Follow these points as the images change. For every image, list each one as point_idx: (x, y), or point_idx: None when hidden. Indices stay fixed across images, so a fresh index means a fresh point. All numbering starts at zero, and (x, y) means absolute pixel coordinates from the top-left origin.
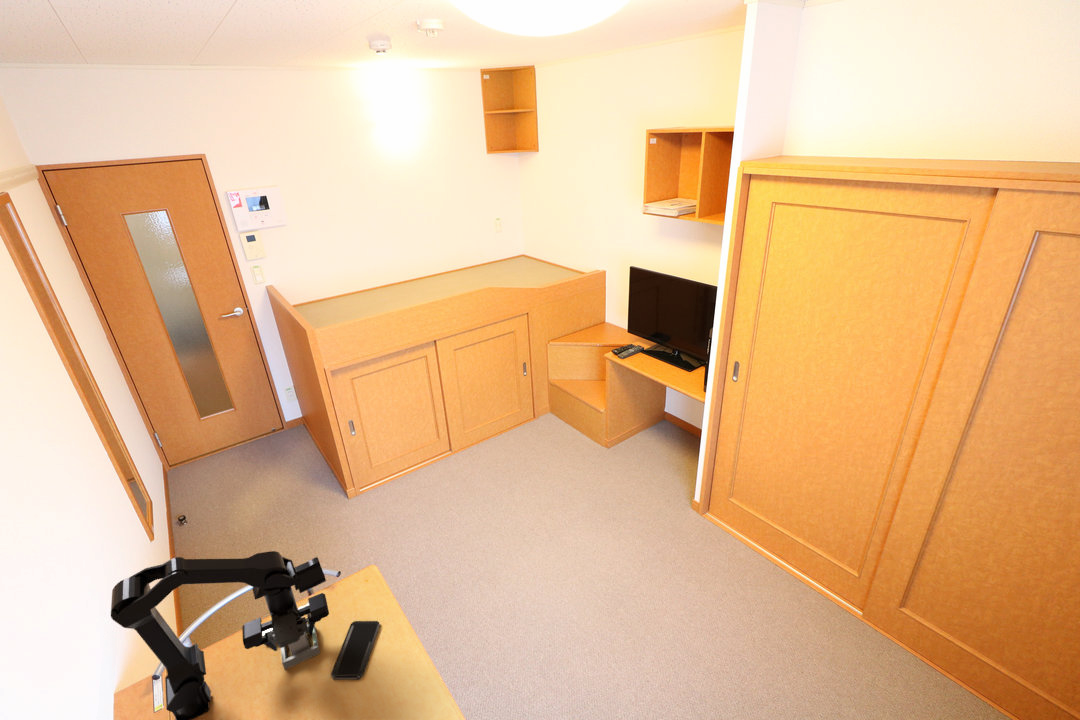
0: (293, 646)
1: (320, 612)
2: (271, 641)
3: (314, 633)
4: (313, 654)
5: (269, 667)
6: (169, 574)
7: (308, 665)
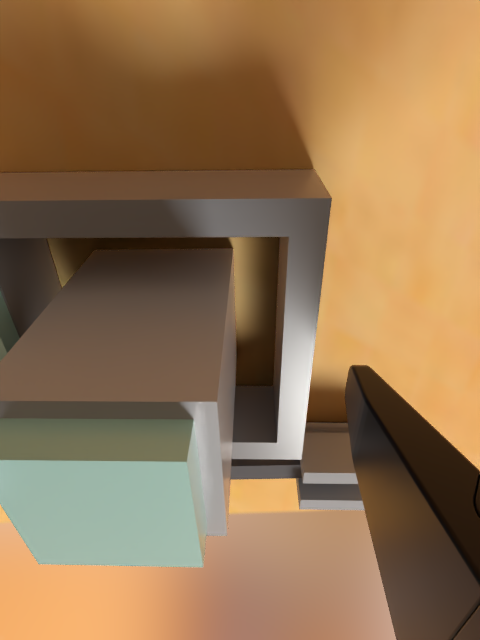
0: (176, 326)
1: None
2: (446, 552)
3: None
4: (37, 178)
5: (420, 264)
6: None
7: (93, 88)
